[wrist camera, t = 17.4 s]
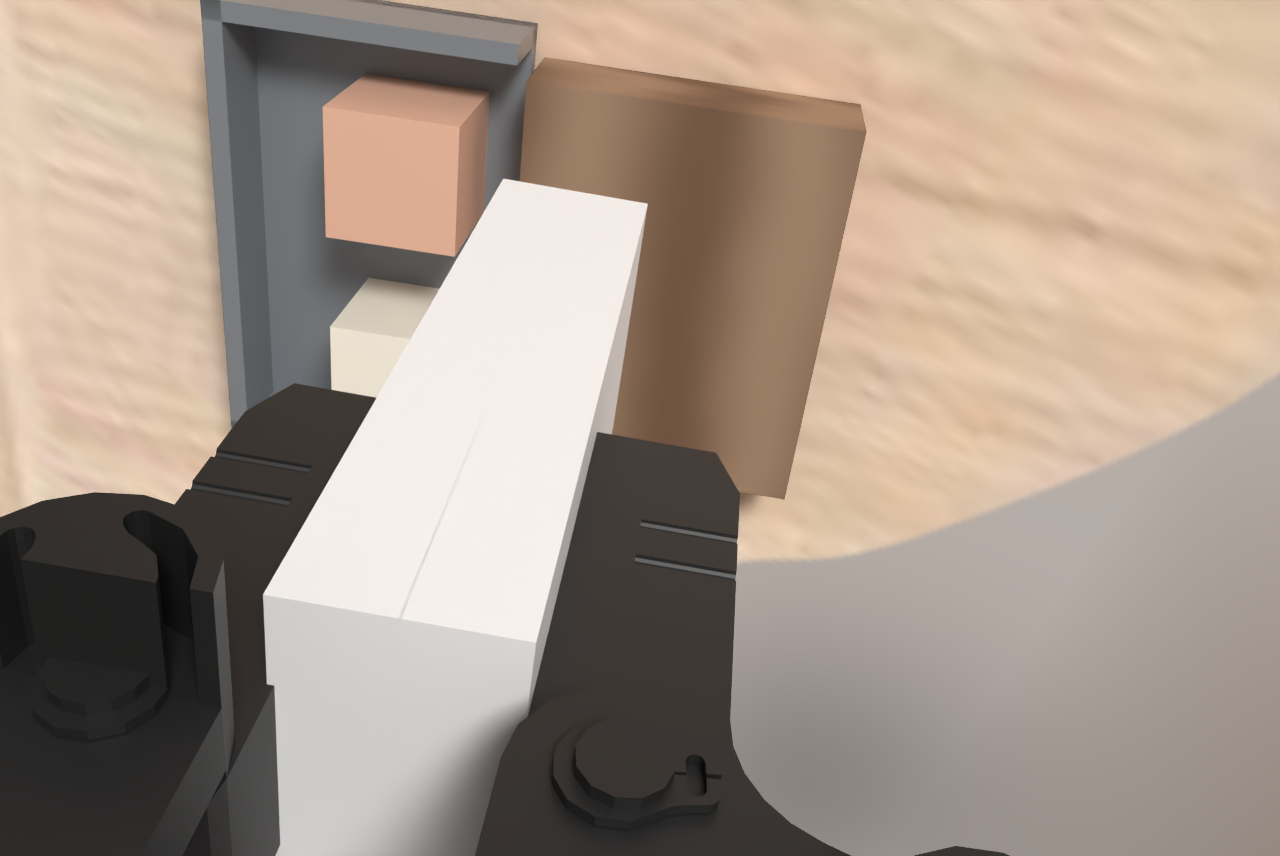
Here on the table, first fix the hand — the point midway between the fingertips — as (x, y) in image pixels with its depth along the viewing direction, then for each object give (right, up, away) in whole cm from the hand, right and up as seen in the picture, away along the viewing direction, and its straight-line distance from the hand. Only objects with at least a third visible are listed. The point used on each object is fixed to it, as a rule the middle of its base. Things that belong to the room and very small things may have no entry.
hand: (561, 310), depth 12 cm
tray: (-8, +6, +27) cm, 29 cm away
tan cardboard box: (+2, +4, +27) cm, 28 cm away
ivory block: (-5, +1, +27) cm, 28 cm away
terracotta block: (-4, +7, +23) cm, 25 cm away
